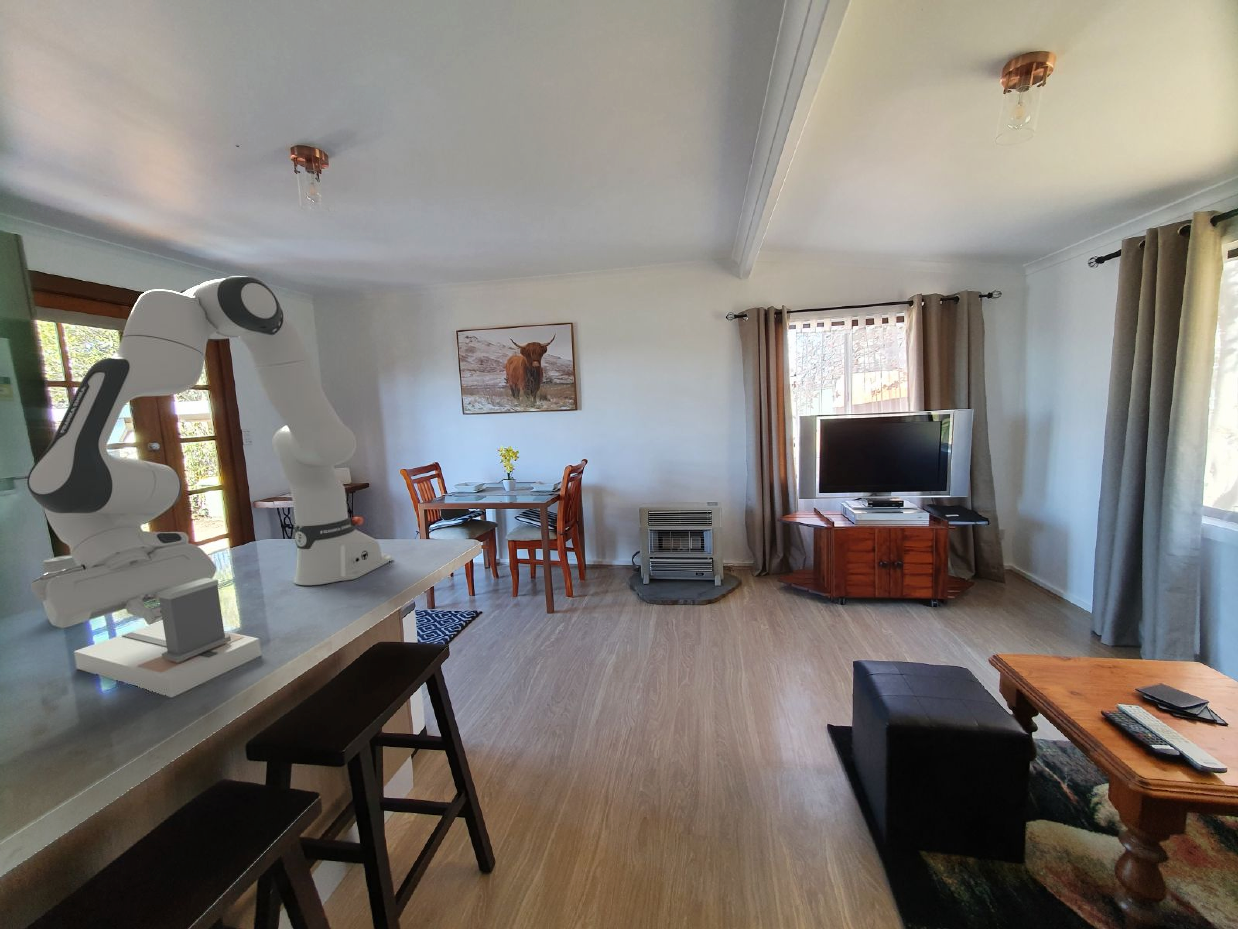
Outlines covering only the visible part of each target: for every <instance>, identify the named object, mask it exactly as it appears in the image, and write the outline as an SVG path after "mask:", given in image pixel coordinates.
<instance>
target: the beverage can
mask: <svg viewBox="0 0 1238 929" xmlns="http://www.w3.org/2000/svg"><path fill="white" fill-rule="evenodd" d="M76 566H78V565H77V564H76V562H75V561H74V559H73V558H72V556H71V554H67V555H60V556H56V557H50V558H47V559H44V560H43V564H42V567H43V574H46V573H50V572H57V571H61V570H64V569H67V568H72V567H76Z"/></svg>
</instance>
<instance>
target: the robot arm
mask: <svg viewBox="0 0 1238 929" xmlns="http://www.w3.org/2000/svg"><path fill="white" fill-rule="evenodd" d="M233 338H234V339H235V338H238V339H239V340H240V341H241V342H242V343H243V344H244V345H245V346H246V348H247V349H248V351H249V354H250V357H251V360H252V363H253V366H254V368H255V371H256V373H257V376H258V379H259V381H260V385H261V387H262V389H263V392H264V394H265V397H266V399H267V401H268V404H270V405H271V406H272V407H273V409H274V410H276V412H277V413H278V414H279V416H280V417H281V419H282V420H283V422H284V424H285V425H284V426H283V427H281V428H279V429H278V430H277V431H276V432H275V434H274V435H273V438H272V442H271V443H272V450H273V451H274V453H275V454H276V456H277V457H278V458H279V460H280V463H281V466H282V470H283V472H284V475H285V478H286V480H287V483H288V487H289V489H290V493H291V498H292V506H293V507H292V508H293V514H294V524H293V534H294V540H295V544H296V548H297V549H296V551H297V555H296V556H297V557H296V569H295V575H294V578H293V583H294V584H295V585H299V586H317V585H325V584H329V583H330V584H331V583H336V582H340V581H341V582H342V581H351V580H355V579H358V578H360V577H362V576H364V575H366V574H368V573H370V572H371V571H375V570H376V569H377V568H380V567H382V566H384V565H386V564H388V563H389V561H390V562H392V556H391V555H388V554H384V553H382V550H381V546H380V543H379V542H378V540H377V539H375V538H374V537H371V536H369V535H368V534H365V533H363V532H362V531H359V530H357V528H356V526H355V525H359V526H360V525H362V524H363V523H364V518H363V517H362V516H354V517H350V516H349V515H348V506H347V505H348V504H347V495H346V489H345V486H344V484H343V483H342V482H341V480H340V479H339V477H338V475H337V472H336V470H335V467H334V466H336V465H340V464H342V463H344V462H347V461H348V460H350V459H351V458H352V457H353V455H354V454H355V452H356V448H357V440H356V436H355V435H354V432H353V431H352V430H351V429H350V428H349V427H348V426H346V425H345V424H344V423H343V421H342V420H341V419H340V417H339V415H337V412H336V411H335V409H334V408H333V406H332V405H331V403H330V401H329V400H328V398H327V396H326V394H325V392H324V389H323V388H322V385H321V383H320V380H319V377H318V374H317V372H316V370H315V366H314V364H313V361H312V358H311V356H310V352H309V350H308V348H307V346H306V343H305V342H304V340H303V338H302V336H301V334H300V331H299V330H298V328H297V327H296V325H295V324H294V323H293V321H292V320H291V319H289V318H288V317H286V316H284V312H283V309H282V308H281V304H280V302H279V300H278V298H277V296H276V295H275V293H274V292H273V291H272V290H271V289H270V287H269V286H267V284H265V283H264V282H263V281H261V280H259V279H257V278H255V277H251V276H244V275H232V276H228V277H226V278H219V279H213V280H210V281H205V282H203V283H201V284H200V285H196V286H194V287H192V288H187V289H183V290H182V291H180V292H179V291H178V292H177V291H173V290H168V289H151V290H148V291H145V292H144V293H142V294H140V296H139V297H138V299H137V301H136V302H135V304H134V306H133V307H132V310H131V312H130V313H129V316H128V318H127V321H126V324H125V326H124V329H123V333H122V336H121V342H120V344H119V346H118V348H117V350H116V352H115V353H113V355H112V356H111V357H105V358H101V359H99V360H98V361H96V362H95V363H94V364H93V365H92V366H90V368H89V369H88V371H87V372H86V374H85V375H84V376H83V378H82V380H81V382H80V384H79V385H78V387H77V389H76V391H75V393H74V395H73V397H72V399H71V401H70V404H69V405H68V408H67V409H66V411H65V413H64V415H63V417H62V420H61V421H60V423H59V425H58V428H57V430H56V431H55V434H54V435H53V438H52V439H51V441H50V443H49V445H48V446H47V448H46V449H45V450H44V452H43V453H42V454H41V455H40V457H39V458H38V459H37V461H36V462H34V465H33V466H32V467H31V469H30V471H29V473H28V475H27V480H26V485H27V488H28V491H29V492H30V495H31V496H32V498H34V499H35V501H36V502H37V503H38V504H40V505H41V506H42V507H43V510H44V514H45V516H46V519H47V521H48V523H49V525H50V527H51V528H52V530H53V531H54V533H55V535H56V536H57V537H58V539H59V540H60V542H62V543H63V544H66V545H67V546H68V547H69V552H70V555H71V556H72V558H73V559H74V561H75V562H76V564H77V565H78V566H76V567H72V568H67V569H64V570H61V571H57V572H50V573H46V574H45V573H43V574H41V575H40V576H39V577H38V578H35V579H34V580H32V582H31V583H30V584H29V589H30V591H31V593H32V594H33V596H34V597H35V598H37V599H38V600H41V601H42V604H43V607H44V611H45V613H46V616H47V618H48V620H49V623H50V624H51V625H52V626H53V627H58V628H62V629H63V628H64V629H65V628H68V627H69V628H70V627H72V626H75V625H77V624H81V623H84V622H87V621H88V622H89V621H91V620H94V619H98V618H101V617H103V616H107V615H110V614H113V613H116V612H119V611H123V610H126V611H127V613H128V614H131V615H133V616H136V617H139V618H141V619H144V620H145V622H146V624H147V626H149V625H152V624H155V623H158V622H161V621H163V620H162V613H161V607H160V606H159V607H156V608H153V609H152V608H149V607H148V606H146V605H143V604H145V603H149V602H153V600H154V602H156V604H158V605H159V604H160V601H159V597H158V596H157V592H159V591H162V590H166V589H169V588H172V587H176V586H179V585H183V584H186V583H189V582H193V581H196V580H200V579H203V578H211V579H214V576H216V575H215V574H216V572H217V567H216V566H217V565H216V564H215V563H214V561H213V560H212V559H211V558H210V557H209V555H208V554H206V552H205V551H204V550H203V549H202V548H201V547H199V545H195V544H194V543H189V541H190V537H189V536H188V534H187V533H186V532H183V531H170V532H169V531H167V532H166V531H148V530H147V531H145V530H143V529H142V525H146V524H148V523H150V522H152V521H154V520H155V519H157V518H159V517H160V516H161V515H163V514H165V513H166V512H167V511H168V510H170V509H171V508H173V507H174V506H175V505H176V503H177V502H178V501H179V499H180V497H181V496H182V495H181V494H182V491H183V487H182V486H183V485H182V481H181V480H182V479H181V477H180V475H179V474H178V473H177V471H176V470H175V469H174V468H172V467H171V466H169V465H165V464H162V463H157V462H153V461H148V460H142V459H136V458H130V457H129V458H128V457H123V456H119V455H118V456H117V455H112V454H110V453H109V452H108V449H107V444H108V441H109V440H110V437H111V435H112V433H113V431H114V429H115V427H116V425H117V424H116V423H117V422H118V419H119V417H120V416H121V415H120V414H121V412H122V411H123V408H124V407H125V406H126V405H127V403H129V402H130V401H131V400H133V399H136V398H139V397H164V396H165V397H167V396H173V395H179V394H181V393H184V392H186V391H188V390H191V389H192V388H194V387H195V386H196V385H197V384H198V382H199V381H200V378H201V376H202V372H203V368H204V364H205V357H206V351H207V344H208V342H214V341H219V340H225V339H226V340H227V339H233Z"/></svg>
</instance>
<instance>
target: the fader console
mask: <svg viewBox="0 0 1238 929" xmlns="http://www.w3.org/2000/svg"><path fill="white" fill-rule="evenodd" d="M224 634H225V635H229V636H230V637H231V641H228V642H226V643H224V644H221V645H219V646H216V647H214V648H212V649H209V650H207V651H205V652H202V653H200V654H197V655H195V656H193V657H190V658H188V659H186V660H183V661H181V662H178V663H177V662H174V661H170V660H166V659H162V653H165V652H167V645H166V639H165V632H164V626H163V620H162V621H159V622H156V623H153V624H150V625H147V626H144V627H141V628H138V629H135V630H132V631H128V632H127V633H123V634H120V635H117V636H115V637H112V638H108V639H106V640H103V641H100V642H97V643H94V644H91V645H88V646H86V647H82V648H80V649H76V650H74V651H73V653H74V659H75V660H74V661H75V665H76V669H78V670H81V671H84V672H88V673H90V674H94V675H96V674H98V675H97V676H100V677H103V678H106V679H109V678H111V679H110V680H113V679H115V680H114V681H116V680H118V681H117V682H119V681H123V682H126V683H130V684H134V685H136V686H138V687H137V688H139V687H140V688H139V689H142V688H145V689H147V690H146V691H148V690H149V691H148V692H152V691H153V692H152V693H155V692H156V693H155V694H158V693H159V695H161V696H165V695H166V696H165V697H168V698H171V699H172V698H174V697H176V696H178V695H180V694H182V693H185V692H187V691H188V690H189V691H190V690H191V689H193V688H195V687H197V686H199V685H201V684H204V683H206V682H208V681H211V680H212V679H214V678H217V677H218V676H220V675H223V674H225V673H227V672H229V671H231V670H233V669H237V667H240V666H242V665H244V664H246V663H247V662H250V661H253V660H255V659H257V658H258V657H260V656H262V651H261V643H260V638H258V637H253V636H249V635H244V634H239V633H234V632H231V631H230V632H229V631H226V630H224ZM126 683H125V684H126ZM145 689H144V690H145Z"/></svg>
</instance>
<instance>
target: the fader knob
mask: <svg viewBox="0 0 1238 929" xmlns="http://www.w3.org/2000/svg"><path fill="white" fill-rule="evenodd" d="M218 585H219V580H218V579H216V578H212V579H211V578H203V579H200V580H196V581H193V582H189V583H186V584H183V585H179V586H176V587H172V588H169V589H166V590H162V591H159V592H157V596H158V597H159V601H160V603H159V604H160V605H159V607H161V613H162V621H163V626H164V632H165V639H166V645H167V652H165V653H162V659H166V660H170V661H174V662H177V663H178V662H181V661H183V660H186V659H188V658H190V657H193V656H195V655H197V654H200V653H202V652H205V651H207V650H209V649H212V648H214V647H216V646H219V645H221V644H224V643H226V642H228V641H231V637H230V636H229V635H225V634H224V631H225V628H224V622H223V615H222V613H223V612H222V607H221V600H220V594H219V586H218Z"/></svg>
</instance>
